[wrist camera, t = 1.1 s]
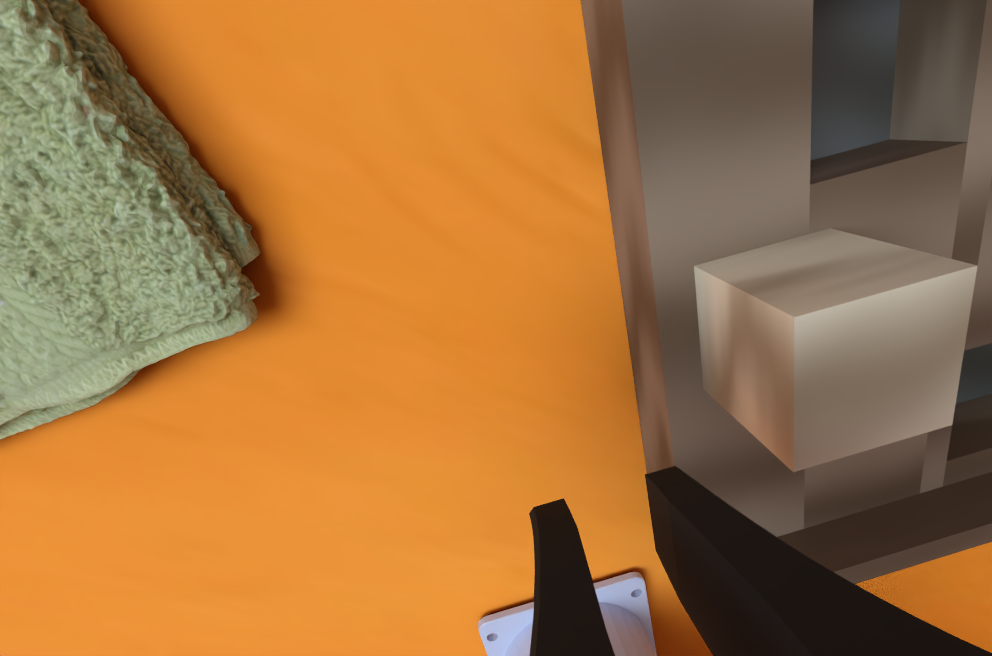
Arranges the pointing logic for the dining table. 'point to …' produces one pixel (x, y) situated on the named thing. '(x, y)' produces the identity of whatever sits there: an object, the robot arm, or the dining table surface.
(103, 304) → the washcloth
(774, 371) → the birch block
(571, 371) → the dining table surface
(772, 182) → the trap box
